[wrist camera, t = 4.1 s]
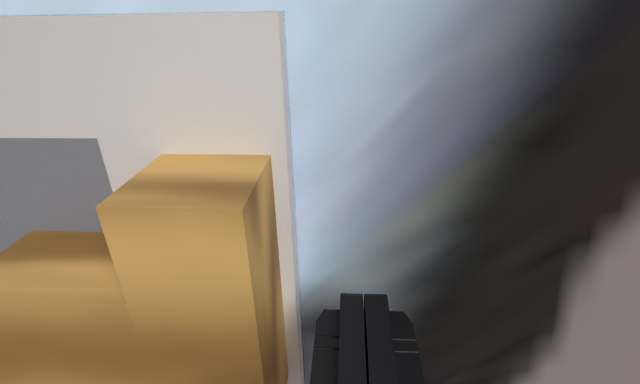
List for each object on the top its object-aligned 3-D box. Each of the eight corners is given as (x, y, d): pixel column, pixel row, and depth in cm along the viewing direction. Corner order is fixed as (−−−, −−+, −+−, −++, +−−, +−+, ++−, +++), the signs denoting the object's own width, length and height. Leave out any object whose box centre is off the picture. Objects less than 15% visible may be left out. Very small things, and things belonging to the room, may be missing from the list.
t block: (-2, 152, 12) (-120, 202, 9) (271, 154, 12) (242, 210, 9) (88, 363, 17) (28, 446, 14) (288, 373, 16) (274, 462, 13)
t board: (-275, 21, 12) (-325, 22, 11) (283, 11, 11) (278, 11, 10) (-31, 392, 20) (-49, 410, 19) (305, 411, 19) (303, 431, 18)
